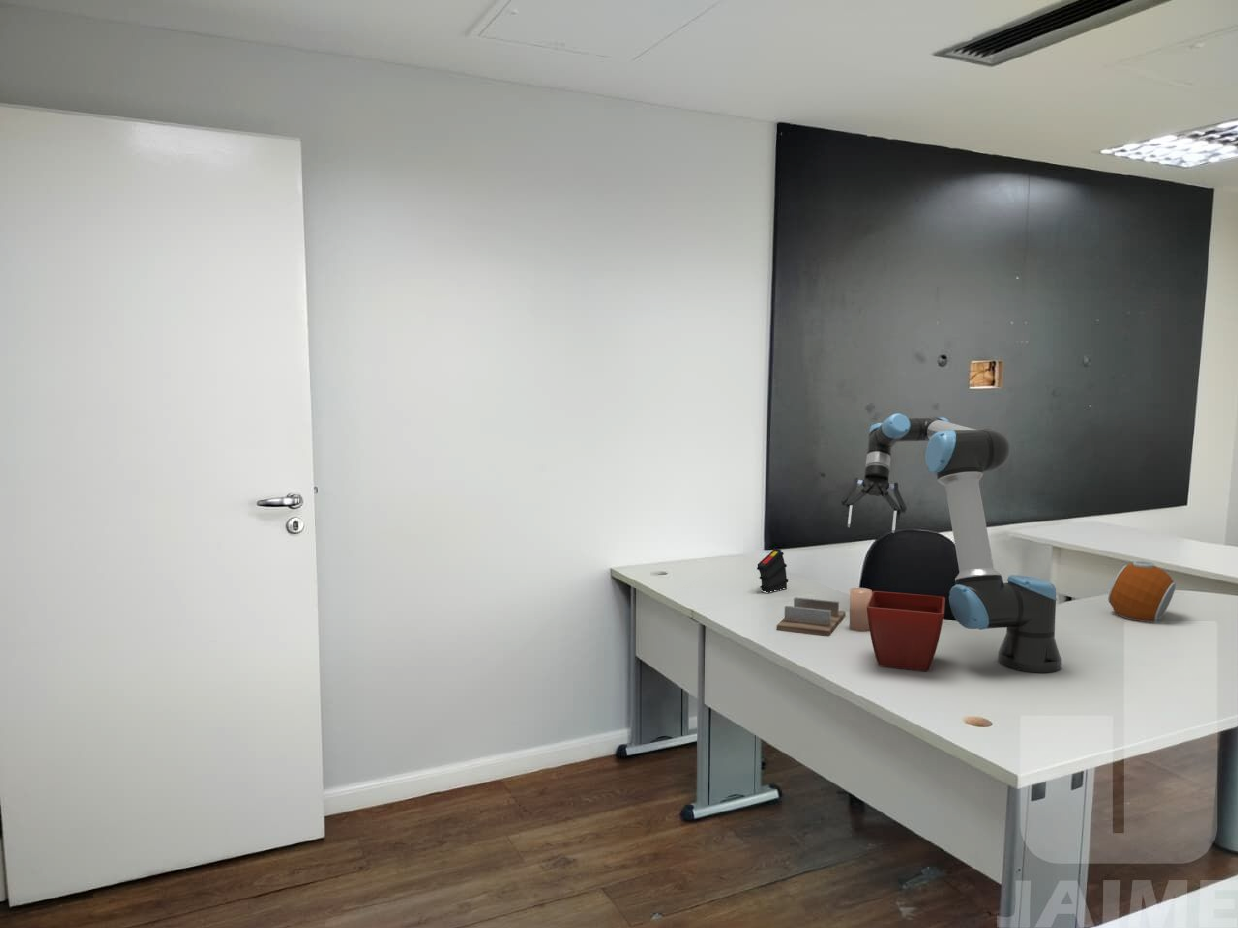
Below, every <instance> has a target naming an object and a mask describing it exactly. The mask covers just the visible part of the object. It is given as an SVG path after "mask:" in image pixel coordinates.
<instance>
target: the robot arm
mask: <svg viewBox="0 0 1238 928" xmlns="http://www.w3.org/2000/svg"><path fill="white" fill-rule="evenodd" d="M867 436H868V441H867V450H866V460H865V469H864V477H863V478H864V479H863V480H861V479H859V478H858V477H855V478H853V479H854V480H853V483H852V485H851V486H850V487H849V489H848V490H847V492H846V493H845V494H844V495H843V496H842V498H841V500H840V505H841V506H845V513H844V515H845V517H848V520H847V527H848V528H851V522H852V514H853V513H852V512H853V505H854V504H855V503H857V502H858V501H859V500H861V499H862V498H863V497H864V496H866V495H867V494H868V495H869V496H877V497H880V496H881V497H882V498H883V499H884V500H886V502H887V503H888V505H889V506H890V507H891V509H892V510H893V514H892V524H891V525H892V526H891V533H892V534H895V530H896V523H897V524H898V523H900V519H901V518H900V517H901V514H905V513H906V512H907V505H906V504H905V501H904V499H903V497H902V494H901V493H900V491H899V483H898V482H894V483H889V475H890V465H891V455H892V448H893V446H895V445H896V444H897V443H898V442H899V443H900V442H901V443H902V442H928V443H927V445H926V450H925V465H926V468H927V469H928V471H929V472H930V473H931V474H934V475H936V476H937V482H938V483H939V484H941V485H942V486H944V490H945V495H946V500H947V506H948V512H949V513H948V514H949V518H950V524H951V529H952V534H953V541H954V547H955V553H956V558H957V559H956V560H957V564H958V565H957V566H958V571H959V573H958V574H957V576H956V577H955V579H954V583H955V585H954V586H952V587H951V588H950V590H949V591H948V594H949V596H948V605H949V607H950V608H949V609H950V611H951V613H952V616H953V617H954V619H955V620H956V622H957V623H959V625H960V626H961V627H963V628H965V629H968V630H986V629H1001V628H1002V629H1003V628H1005V629H1006V632H1005V636H1004V638H1003V640H1002V643H1001V645H1000V647H999V651H998V663H1000V664H1001V665H1003V666H1004V667H1007V668H1011V669H1014V670H1016V671H1017V670H1019V671H1022V672H1027V673H1028V672H1029V673H1053V672H1057V671H1059V670H1061V668H1062V657H1061V653H1060V650H1059V646H1058V644H1057V641H1056V637H1055V635H1056V615H1057V614H1056V612H1057V611H1056V609H1057V601H1058V598H1057V587H1056V586H1055V584H1054V583H1053V582H1051V581H1048V580H1045V579H1042V578H1038V577H1032V576H1028V575H1020V574H1019V575H1018V574H1017V575H1016V574H1011V575H1009V576H1008V577H1007V579H1006V581H1007V582H1004V580H1003V576H1002V574H1001V573H1000V572H998V571H997V570H996V569H995V567H994V566H995V565H994V561H993V555H992V550H991V544H990V539H989V533H988V529H987V528H988V527H987V521H986V517H985V510H984V507H983V501H982V496H981V490H980V488H981V487H980V485H979V482H980V480H981V479H982V477H983V476H984V472H989V471H993V470H997V469H998V468H1000V467H1002V466H1003V465H1004V464H1005V463H1006V462H1007V460H1009V458H1010V454H1011V450H1012V449H1011V443H1010V441H1009V439H1008V437H1007V436H1005V434H1004V433H1002V432H1000V431H998V430H995V429H994V430H993V429H989V428H982V429H976V428H971V427H967V426H963V425H960V424H957V423H953V422H950V421H949V420H948V419H947V418H945V417H938V416H934V417H908V416H906V415H904V414H902V413H893V414H892V415H891V414H890V415H889V417H887V418H886V419H885V420H883V422H878V423H876V424H875V423H874V424H872V425H871V426H870V428H869V433H868V435H867ZM860 486H862V487H863V488H862V489H861V490H859V492H857V494H855V495H854V496H853V497H851V496H852V495H853V494H854V492H855V491H856V490H857V487H860ZM888 489H890V490H891V491H892V492H893V495H894V497H895V498H896V501H897V502H896V501H895V500H894V499H893V497H892V496H891V495H890V493H889V491H888Z"/></svg>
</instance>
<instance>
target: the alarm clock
mask: <svg viewBox="0 0 1238 928" xmlns="http://www.w3.org/2000/svg"><path fill="white" fill-rule="evenodd" d="M1176 584H1177V583H1176V582H1174V580H1173V579H1172V577H1171V575H1169V574H1168V573H1167V572H1166V571H1165V570H1163V569H1161V568H1160V567H1157V566H1156V565H1155V564H1154V563H1153V562H1150V561H1140V560H1138V561H1133V563H1131V564H1125V565H1123V566H1122V568H1121V569H1120V571H1118V573H1117V575H1116V577H1115V579H1114V580H1113V583H1112V585H1111V588H1110V591H1109V593H1108V596H1107V598H1108V599H1107V601H1108V603H1109V604H1110V606H1111V607H1112V608H1113V610H1114V612H1116V613H1117V614H1118V615H1120V616H1119V617H1122V618H1124V619H1125V618H1126V619H1128V620H1132V619H1134V620H1133V621H1136V620H1140V621H1139V622H1145V621H1156V622H1157V621H1159V620H1160V619H1161V618H1163V616H1164V615H1165V613H1166V611H1167V609H1168V607H1169V606H1170V604H1171V601H1172V599H1173V596H1174V594H1175V590H1176V586H1177V585H1176ZM1158 619H1159V620H1158Z"/></svg>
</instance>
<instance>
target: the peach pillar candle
mask: <svg viewBox="0 0 1238 928" xmlns="http://www.w3.org/2000/svg"><path fill="white" fill-rule="evenodd" d="M872 592H873V590H872V589H870V588H866V587H853V588H850V589H849V601H850V602H849V629H850V630H851V631H855V632H863V633H864V632H870V630H869V623H868V616H867V604H868V602H869V600H870V598H871V595H872Z"/></svg>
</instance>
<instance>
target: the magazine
mask: <svg viewBox="0 0 1238 928" xmlns="http://www.w3.org/2000/svg"><path fill="white" fill-rule="evenodd" d="M784 554H785V552H784V551H782V550H781V549H778V548H774V549H772V550H771V552H769V553H768V554H767V555H766V556H765V557H764V558H762V560H760V562H759V563H758V564H757V567H756V570H757V571H759V574H760V577H758V578H759V579H760V581H761V585H760V587H759V588H760V589H761V591H762V590H763V591H766V592H770V591H774V590H779V591H781V590H780V589H783V588H787V589H788V584H787V583H789V578H787V569H786V568H787V567H788V564H787V563H785V562H786V561H785V559H784ZM783 590H784V589H783Z"/></svg>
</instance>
